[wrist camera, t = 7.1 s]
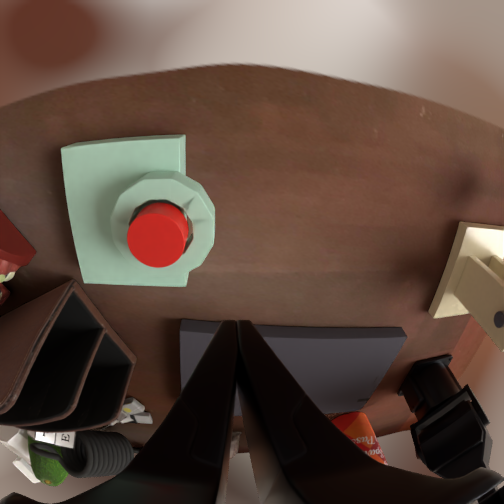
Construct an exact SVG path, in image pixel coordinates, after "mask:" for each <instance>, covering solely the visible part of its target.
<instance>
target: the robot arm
mask: <svg viewBox="0 0 504 504" xmlns="http://www.w3.org/2000/svg"><path fill="white" fill-rule="evenodd" d="M452 358H453V357H452V355H446V356H442V357H438V358H433V359H429V360H424V361H419V362H416V363H415V364H414V365H413V367H412V369H411V371H410V372H409V374H408V376H407V378H406V379H405V381H404V383H403V384H402V386H401V388H400V389H399V391H398V393H397V394H398V396H403V395H404V397H405V399H406V402H407V404H408V406H409V408H410V410H411V412H412V413H415V415H416V417H417V419H418V422H416V423H415V424H414V423H413V424H412V425H410V428H411V435H412V438H413V442H414V445H415V451H416V457H417V459H419V460H422V462H423V463H424V464H425V465H426V466H427V467H428V468H429V470H430V471H432V472H434V473H435V474H437V475H439V476H440V477H442V478H444V479H442V478H436V477H431V476H426V475H422V474H418V473H414V472H410V471H406V470H402V469H399V468H395V467H392V466H388V465H385V464H383V463H380V462H378V461H377V460H375V459H373V458H372V457H370V456H369V455H368V454H366V453H365V452H364V451H363V450H362V449H361V448H360V447H358V446H357V445H356V444H355V443H354V442H353V441H352V440H351V439H349V438H348V437H347V436H346V435H345V434H344V433H343V432H342V431H341V430H340V429H338V428H337V427H336V426H335V425H334V424H333V423H332V422H331V421H330V420H329V419H328V418H327V417H326V416H325V415H324V414H323V412H322V411H321V410H320V409H319V408H318V407H317V406H316V404H315V403H314V402H313V401H312V400H311V398H310V397H309V396H308V395H307V394H306V392H305V391H304V390H303V388H302V387H301V386H300V385H299V383H298V382H297V381H296V380H295V378H294V377H293V376H292V375H291V373H290V372H289V371H288V369H287V368H286V367H285V366H284V364H283V363H282V362H281V360H280V359H279V358H278V357H277V355H276V354H275V353H274V351H273V350H272V349H271V347H270V346H269V345H268V344H267V342H266V341H265V340H264V338H263V337H262V336H261V334H260V333H259V332H258V330H257V329H256V328H255V326H254V325H253V324H252V322H251V321H250V320H237V321H235V320H223V321H222V322H221V323H220V325H219V327H218V329H217V330H216V332H215V334H214V336H213V337H212V339H211V341H210V343H209V344H208V346H207V348H206V350H205V351H204V353H203V355H202V357H201V358H200V360H199V362H198V364H197V365H196V367H195V369H194V371H193V372H192V374H191V376H190V378H189V379H188V381H187V383H186V385H185V386H184V388H183V390H182V392H181V393H180V395H179V397H178V398H177V400H176V402H175V403H174V405H173V407H172V408H171V410H170V412H169V413H168V415H167V416H166V418H165V420H164V421H163V422H162V424H161V425H160V426H159V428H158V429H157V430H156V432H155V433H154V434H153V435H152V437H151V438H150V439H149V440H148V442H147V443H146V444H145V445H144V446H143V448H142V449H141V450H140V451H139V453H138V454H137V455H136V456H135V458H134V459H133V460H132V461H131V462H130V463H129V464H128V466H127V467H126V468H125V469H124V470H123V471H122V472H120V473H119V474H118V475H116V476H115V477H114V478H112V479H110V480H108V481H106V482H104V483H102V484H100V485H98V486H96V487H94V488H92V489H90V490H88V491H86V492H84V493H81V494H79V495H77V496H75V497H73V498H70V499H68V500H66V501H63V502H60V503H54V504H225V499H226V489H227V479H228V469H229V459H230V449H231V439H232V429H233V419H234V409H235V399H236V386H237V390H238V397H239V402H240V407H241V413H242V418H243V423H244V428H245V433H246V438H247V443H248V448H249V453H250V458H251V463H252V468H253V472H254V477H255V482H256V486H257V490H258V495H259V499H260V504H504V486H503V487H501V488H500V489H498V488H497V485H498V484H500V483H501V482H502V481H504V478H503V477H502V476H501V475H500V474H499V473H497V472H495V471H493V470H490V468H489V466H488V465H489V459H490V454H491V448H492V439H491V437H490V435H489V433H488V431H487V429H486V426H487V425H488V424H489V423H490V422H489V420H488V418H487V416H486V414H485V412H484V411H483V409H482V407H481V405H480V403H479V402H478V400H477V399H476V397H475V395H474V393H473V392H472V390H471V389H470V388H469V386H468V384H467V385H465V386H464V388H463V389H462V388H461V386H460V385H459V383H458V381H457V380H456V378H455V376H454V375H453V373H452V372H451V370H450V368H449V367H448V365H449V363H450V362H451V360H452ZM470 400H472V402H470ZM0 504H47V503H41V502H37V501H35V500H33V499H30V498H28V497H26V496H23V495H21V494H18V493H15V492H13V493H11V494H9V495H8V496H6V497H4V498H3V499H1V500H0Z"/></svg>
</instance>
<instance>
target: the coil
mask: <svg viewBox="0 0 504 504" xmlns="http://www.w3.org/2000/svg"><path fill="white" fill-rule="evenodd" d="M29 447H30V449H31V451H33V452H34V453H36V454H38V455H40V456H43V457H46V458H49V459H53V460H58V461H59V463H60V464H61V465H62V467H63V468H64V469H65V470H66V471H67V472H68V473H69V474H70V475H72V476H74V477H77V478H82V477H84V478H86V477H99V476H110V475H118V474H119V473H120V472H122V471H123V470H124V469H125V468H126V467H127V466H128V464H129V463H130V462H131V461H132V460H133V459H134V453H139V451H140V450H141V449H135V448H132V446H131V444H130V442H129V441H128V440H127V438H126V437H124V436H123V435H122V434H120V433H117V432H106V431H105V432H104V431H90V430H83V431H76V436H75V446H74V449H70V448H65V447H61V454H62V457H63V458H62V457H61V456H60V454H59V453H58V452H57V451H56V450H55V449H54V448H53V447H51V446H50V445H47V444H44V443H31V444H30V445H29ZM41 449H45V450H48V451H49V452H47V451H44V450H41Z"/></svg>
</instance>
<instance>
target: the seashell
mask: <svg viewBox="0 0 504 504" xmlns="http://www.w3.org/2000/svg"><path fill="white" fill-rule="evenodd" d="M241 433H242V432H232V439H231V449H230V459H231V458H233V457H234V456H235V455H236V454H237V452H238V446H239V437H240V435H241Z"/></svg>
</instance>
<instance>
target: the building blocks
mask: <svg viewBox="0 0 504 504" xmlns="http://www.w3.org/2000/svg"><path fill="white" fill-rule="evenodd" d="M27 434H28V435H29V436H30V437H31V438H32V439H34V440H35V441H39V442H43V443H47V444H51V445H55V446H60V447H65V448H70V449H74V446H75V436H76V431H75V432H64V433H45V432H34V431H28V432H27Z"/></svg>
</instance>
